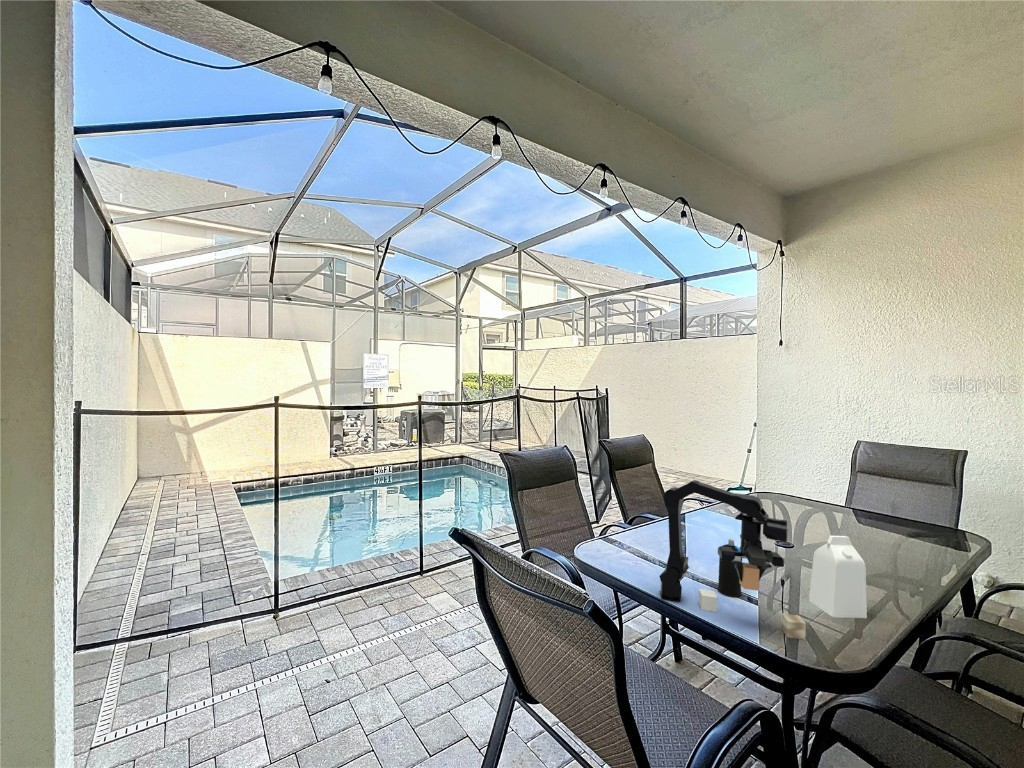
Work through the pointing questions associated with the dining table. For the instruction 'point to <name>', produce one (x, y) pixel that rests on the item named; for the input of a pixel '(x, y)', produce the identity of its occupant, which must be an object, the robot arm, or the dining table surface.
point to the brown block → (750, 577)
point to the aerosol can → (729, 575)
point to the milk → (839, 579)
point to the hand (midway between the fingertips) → (748, 581)
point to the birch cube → (793, 626)
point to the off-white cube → (708, 600)
